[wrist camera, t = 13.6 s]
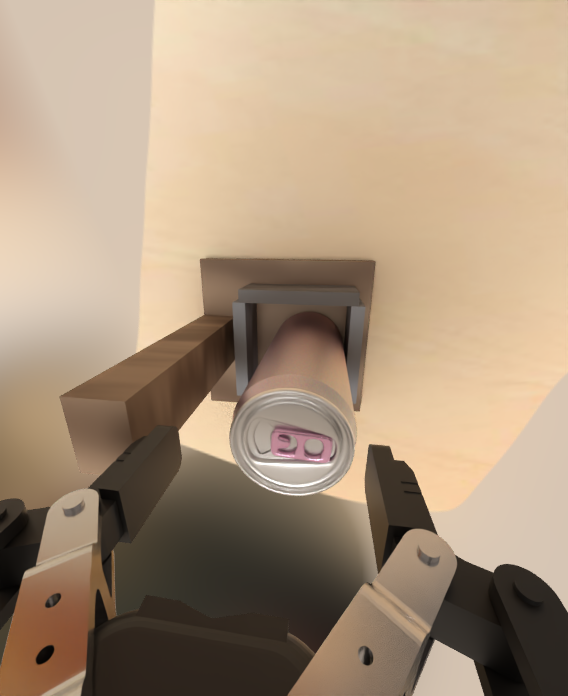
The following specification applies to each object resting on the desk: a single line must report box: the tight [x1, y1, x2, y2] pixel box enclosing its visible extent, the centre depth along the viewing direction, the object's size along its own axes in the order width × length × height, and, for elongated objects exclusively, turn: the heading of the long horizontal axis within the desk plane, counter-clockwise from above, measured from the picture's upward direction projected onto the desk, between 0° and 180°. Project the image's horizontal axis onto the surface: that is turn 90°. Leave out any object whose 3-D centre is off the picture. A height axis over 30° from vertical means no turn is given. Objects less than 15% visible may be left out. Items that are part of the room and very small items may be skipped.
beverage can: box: [229, 312, 357, 496], centre depth 20 cm, size 6×6×15 cm
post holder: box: [60, 258, 375, 475], centre depth 20 cm, size 14×15×18 cm
